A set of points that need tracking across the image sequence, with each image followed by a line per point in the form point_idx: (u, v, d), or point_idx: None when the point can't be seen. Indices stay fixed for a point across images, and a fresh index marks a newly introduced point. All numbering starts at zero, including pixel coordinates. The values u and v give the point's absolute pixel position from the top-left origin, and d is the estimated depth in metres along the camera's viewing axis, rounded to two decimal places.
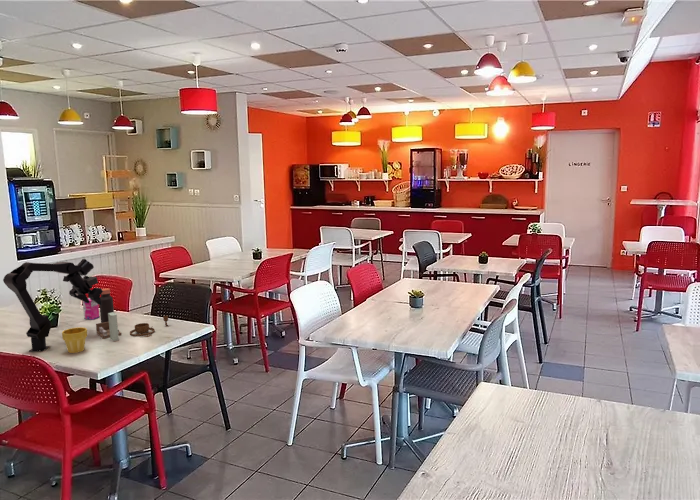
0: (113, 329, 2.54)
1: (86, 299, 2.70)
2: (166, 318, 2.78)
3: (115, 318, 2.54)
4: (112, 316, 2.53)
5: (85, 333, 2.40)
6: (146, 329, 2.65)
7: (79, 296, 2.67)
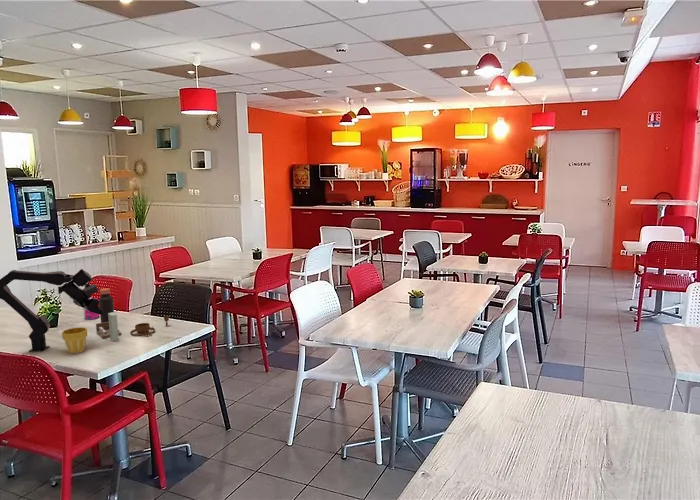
0: (113, 329, 2.54)
1: None
2: (167, 318, 2.78)
3: (115, 318, 2.54)
4: (112, 316, 2.53)
5: (85, 333, 2.40)
6: (146, 329, 2.66)
7: (82, 305, 2.56)
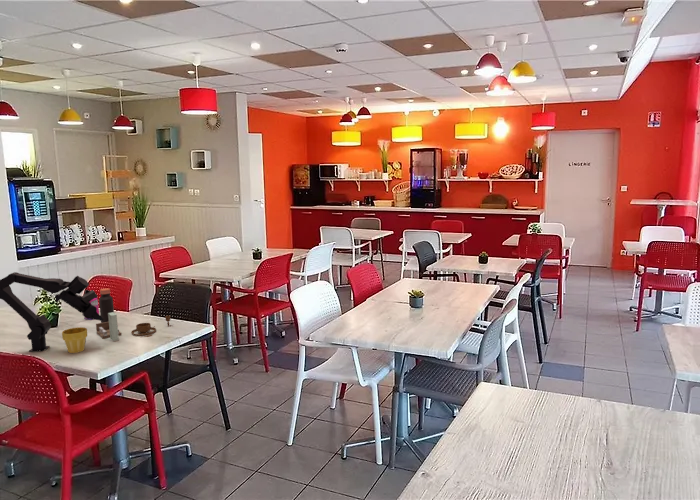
0: (113, 329, 2.54)
1: None
2: (168, 318, 2.78)
3: (115, 318, 2.54)
4: (112, 316, 2.53)
5: (85, 333, 2.40)
6: (147, 329, 2.66)
7: None
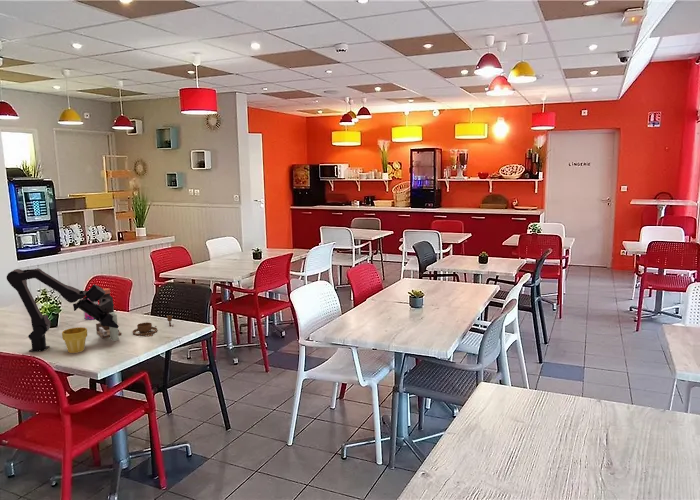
0: (113, 329, 2.54)
1: None
2: (170, 318, 2.78)
3: (115, 318, 2.54)
4: None
5: (85, 333, 2.40)
6: (148, 328, 2.66)
7: None
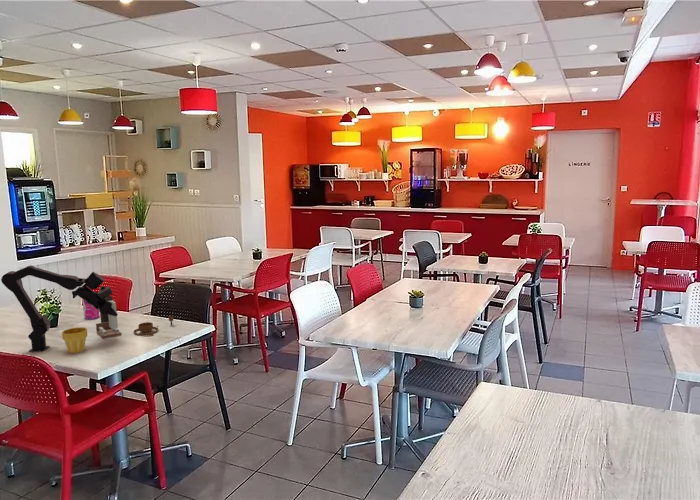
0: (112, 317, 2.53)
1: None
2: (171, 318, 2.78)
3: (114, 306, 2.53)
4: None
5: (85, 333, 2.40)
6: (149, 328, 2.66)
7: None
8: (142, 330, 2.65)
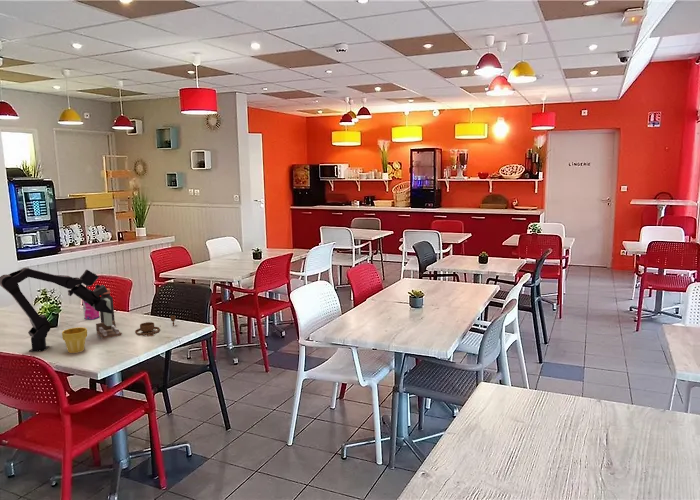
0: (107, 314, 2.61)
1: None
2: (173, 318, 2.78)
3: (109, 304, 2.61)
4: None
5: (85, 333, 2.40)
6: (150, 328, 2.67)
7: None
8: (143, 330, 2.65)
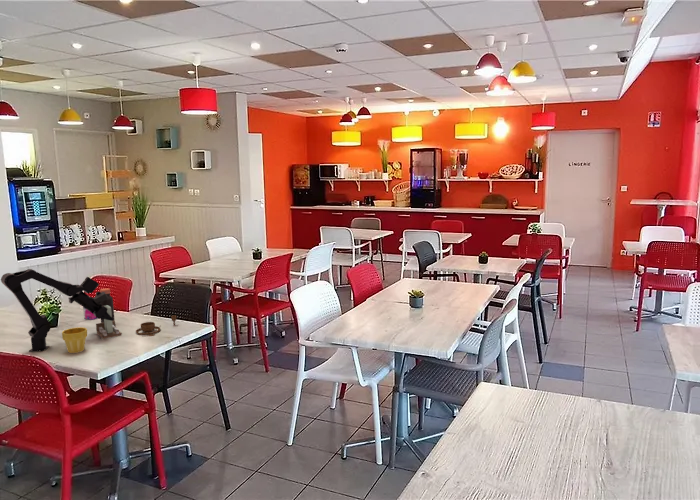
0: (107, 321, 2.62)
1: None
2: (174, 318, 2.78)
3: (109, 311, 2.62)
4: (107, 309, 2.61)
5: (85, 333, 2.40)
6: (151, 328, 2.67)
7: None
8: (144, 330, 2.66)
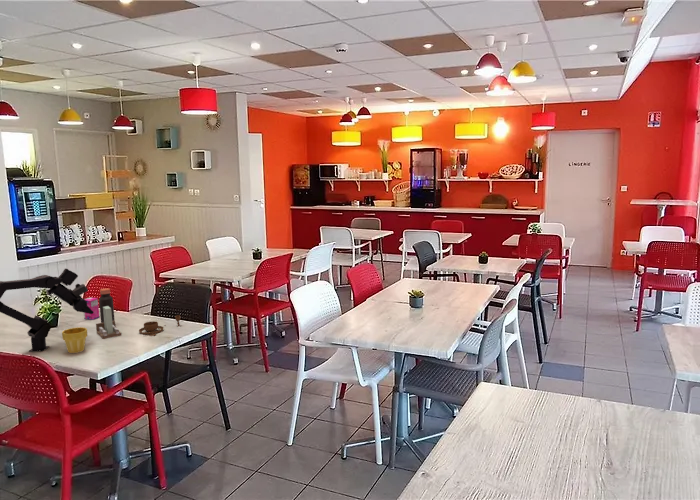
0: (108, 322, 2.62)
1: None
2: (178, 318, 2.77)
3: (110, 311, 2.62)
4: (107, 309, 2.61)
5: (85, 333, 2.40)
6: (153, 328, 2.67)
7: None
8: (146, 329, 2.67)
